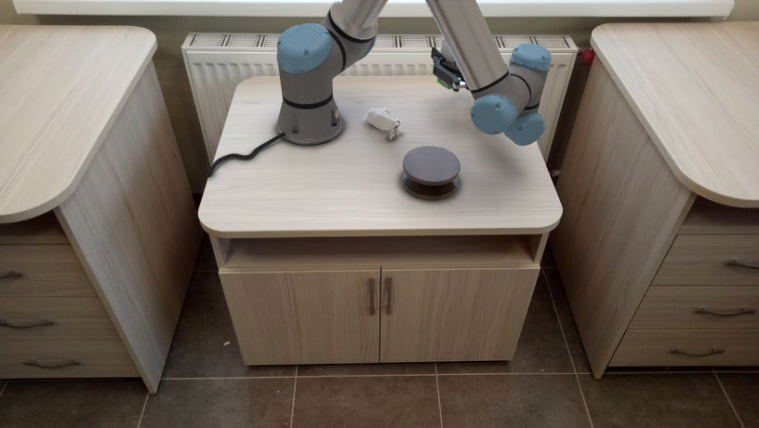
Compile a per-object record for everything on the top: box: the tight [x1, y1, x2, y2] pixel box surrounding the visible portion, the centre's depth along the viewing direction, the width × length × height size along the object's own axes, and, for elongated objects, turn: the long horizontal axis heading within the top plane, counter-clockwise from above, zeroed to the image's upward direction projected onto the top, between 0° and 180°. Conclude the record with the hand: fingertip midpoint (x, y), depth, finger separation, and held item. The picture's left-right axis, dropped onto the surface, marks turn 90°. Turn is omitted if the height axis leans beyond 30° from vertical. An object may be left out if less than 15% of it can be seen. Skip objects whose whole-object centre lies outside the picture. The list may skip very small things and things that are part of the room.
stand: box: [401, 145, 461, 202], centre depth 115 cm, size 12×12×5 cm
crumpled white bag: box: [365, 107, 402, 141], centre depth 129 cm, size 5×7×10 cm
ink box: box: [436, 36, 459, 90], centre depth 132 cm, size 9×5×12 cm, turn 123°
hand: (450, 49), depth 135 cm, fingers closed on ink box, 9 cm apart
